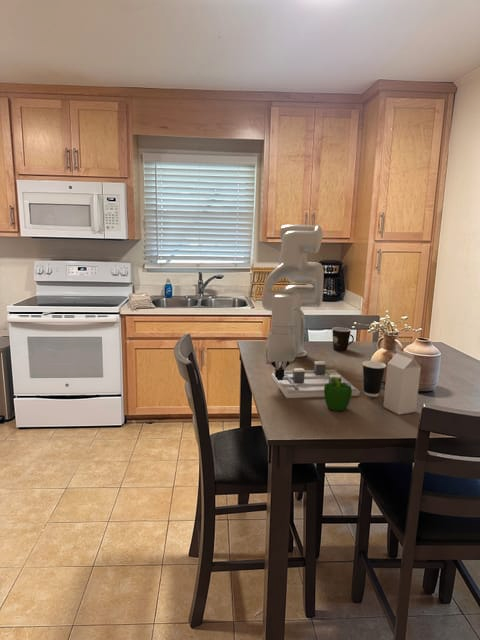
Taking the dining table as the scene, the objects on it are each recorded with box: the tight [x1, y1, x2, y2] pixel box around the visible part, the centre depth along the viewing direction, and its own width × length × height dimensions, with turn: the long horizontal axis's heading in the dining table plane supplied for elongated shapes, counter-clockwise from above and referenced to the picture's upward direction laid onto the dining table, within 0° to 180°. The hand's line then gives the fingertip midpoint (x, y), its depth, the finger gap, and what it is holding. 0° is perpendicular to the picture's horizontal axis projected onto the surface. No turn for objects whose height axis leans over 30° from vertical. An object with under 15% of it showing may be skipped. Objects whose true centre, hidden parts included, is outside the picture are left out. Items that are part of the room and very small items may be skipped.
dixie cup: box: [361, 360, 387, 397], centre depth 157 cm, size 8×8×11 cm
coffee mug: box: [331, 326, 355, 353], centre depth 213 cm, size 12×9×10 cm
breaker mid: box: [292, 367, 305, 383], centre depth 163 cm, size 2×4×5 cm, turn 99°
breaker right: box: [329, 374, 341, 383], centre depth 157 cm, size 2×4×5 cm, turn 99°
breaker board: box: [271, 369, 360, 399], centre depth 165 cm, size 22×26×2 cm
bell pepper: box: [324, 377, 352, 412], centre depth 144 cm, size 8×8×10 cm
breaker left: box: [313, 360, 327, 375], centre depth 173 cm, size 2×4×5 cm, turn 99°
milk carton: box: [383, 349, 422, 415], centre depth 143 cm, size 7×7×19 cm
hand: (279, 379), depth 162 cm, fingers closed
